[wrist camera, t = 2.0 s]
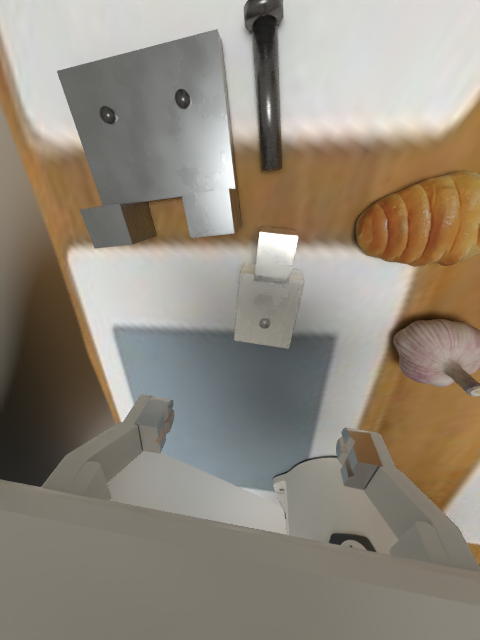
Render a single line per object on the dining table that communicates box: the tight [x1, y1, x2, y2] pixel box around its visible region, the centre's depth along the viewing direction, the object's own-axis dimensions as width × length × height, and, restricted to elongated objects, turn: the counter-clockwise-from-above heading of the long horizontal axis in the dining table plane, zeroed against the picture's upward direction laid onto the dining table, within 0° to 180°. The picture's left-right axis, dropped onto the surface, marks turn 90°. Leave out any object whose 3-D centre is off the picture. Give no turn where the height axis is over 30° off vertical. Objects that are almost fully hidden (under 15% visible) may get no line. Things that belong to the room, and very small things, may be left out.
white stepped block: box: [234, 226, 305, 349], centre depth 23 cm, size 10×6×4 cm, turn 175°
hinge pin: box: [244, 0, 283, 171], centre depth 17 cm, size 9×2×2 cm, turn 7°
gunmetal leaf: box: [57, 29, 242, 248], centre depth 18 cm, size 12×12×4 cm
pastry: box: [356, 171, 480, 267], centre depth 19 cm, size 9×7×4 cm
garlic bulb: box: [393, 319, 480, 397], centre depth 22 cm, size 8×7×8 cm
